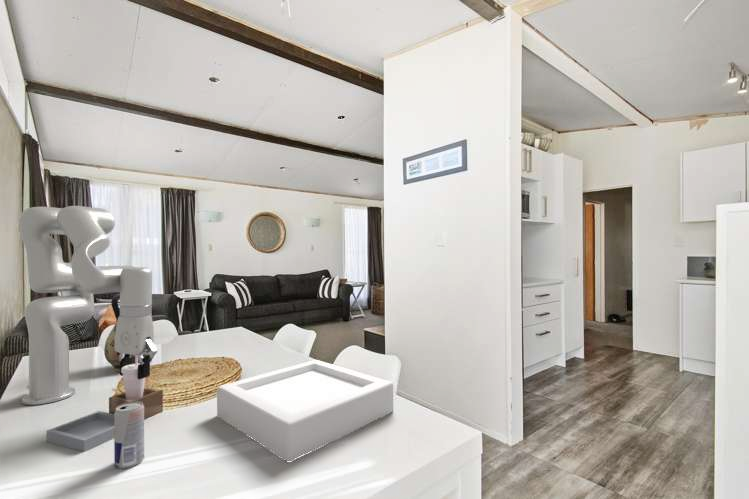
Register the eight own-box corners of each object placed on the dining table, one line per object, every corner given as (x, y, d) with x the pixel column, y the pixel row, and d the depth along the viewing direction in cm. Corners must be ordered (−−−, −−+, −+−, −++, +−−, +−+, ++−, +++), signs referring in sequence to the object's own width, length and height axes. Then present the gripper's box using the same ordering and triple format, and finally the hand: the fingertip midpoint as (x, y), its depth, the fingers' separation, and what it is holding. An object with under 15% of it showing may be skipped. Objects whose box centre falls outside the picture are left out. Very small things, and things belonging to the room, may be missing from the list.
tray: (216, 418, 102) (215, 385, 102) (316, 384, 128) (316, 358, 128) (288, 466, 78) (288, 424, 78) (394, 413, 104) (394, 381, 104)
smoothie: (134, 406, 99) (135, 354, 99) (114, 404, 101) (115, 353, 101) (153, 397, 106) (153, 348, 106) (134, 395, 107) (134, 347, 107)
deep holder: (108, 419, 100) (108, 397, 100) (140, 407, 109) (140, 386, 109) (132, 425, 97) (132, 402, 97) (162, 411, 105) (162, 390, 106)
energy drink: (123, 456, 82) (123, 401, 82) (149, 454, 82) (149, 400, 82) (108, 470, 77) (108, 412, 77) (135, 468, 77) (135, 410, 77)
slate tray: (46, 441, 89) (46, 430, 89) (98, 420, 100) (98, 410, 100) (84, 451, 84) (84, 440, 84) (135, 428, 95) (135, 418, 95)
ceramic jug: (126, 362, 155) (126, 290, 156) (159, 363, 153) (159, 290, 154) (89, 375, 139) (89, 295, 139) (126, 376, 136) (126, 295, 137)
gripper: (101, 311, 103) (99, 375, 103) (145, 316, 97) (144, 384, 97) (127, 307, 110) (126, 368, 110) (170, 311, 104) (169, 376, 104)
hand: (134, 375), depth 103 cm, fingers closed on smoothie, 6 cm apart
